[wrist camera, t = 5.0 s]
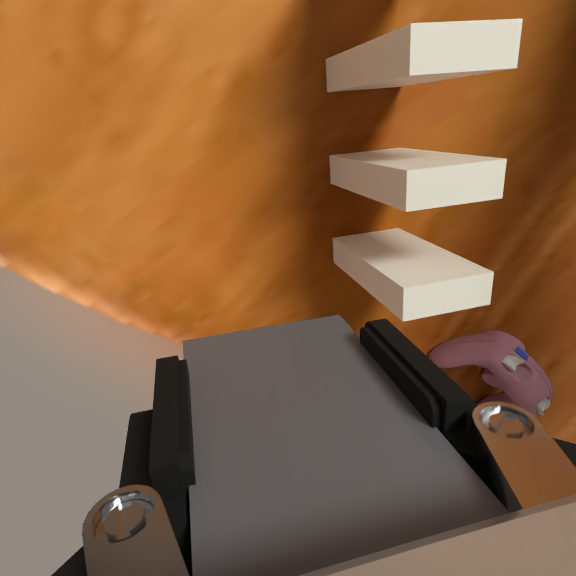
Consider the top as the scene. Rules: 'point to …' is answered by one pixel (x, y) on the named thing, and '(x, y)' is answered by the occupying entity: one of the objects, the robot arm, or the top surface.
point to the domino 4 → (312, 455)
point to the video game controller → (499, 368)
